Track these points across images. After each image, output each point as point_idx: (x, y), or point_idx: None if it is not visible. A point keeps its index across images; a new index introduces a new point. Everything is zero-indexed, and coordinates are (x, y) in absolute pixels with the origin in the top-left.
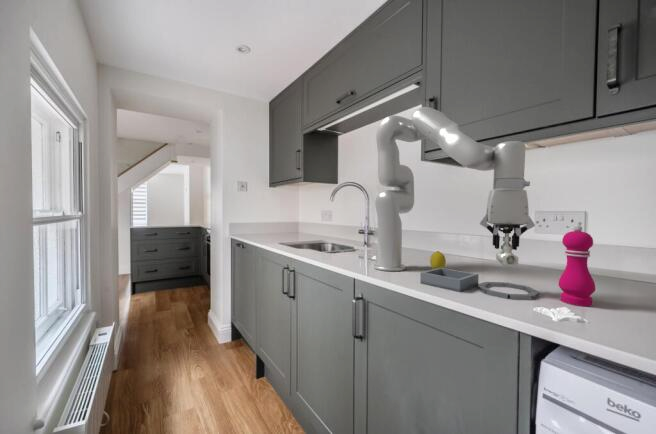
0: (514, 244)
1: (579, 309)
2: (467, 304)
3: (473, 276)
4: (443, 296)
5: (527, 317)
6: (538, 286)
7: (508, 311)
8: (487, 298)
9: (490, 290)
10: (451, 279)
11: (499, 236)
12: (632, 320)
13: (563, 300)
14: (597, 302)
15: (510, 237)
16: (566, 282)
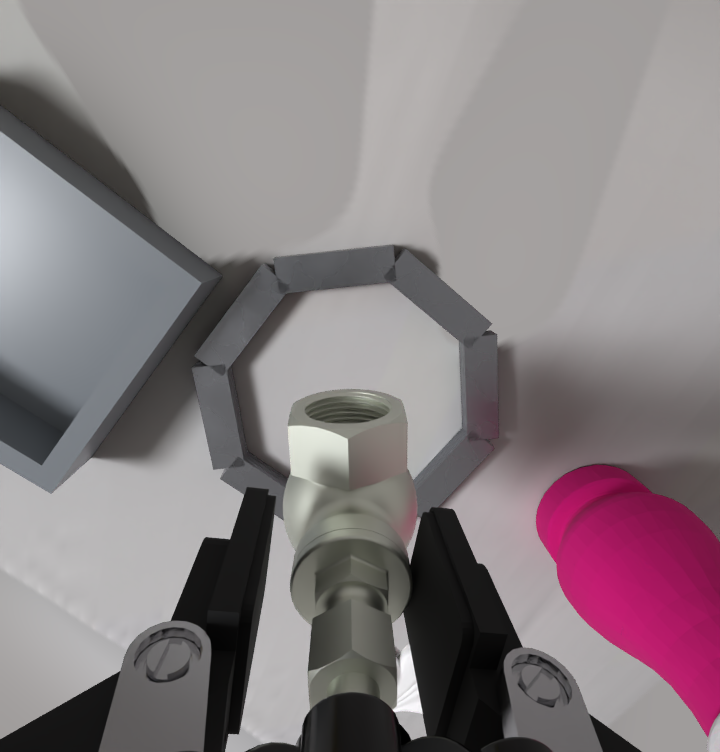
0: (415, 650)
1: (536, 595)
2: (110, 628)
3: (156, 347)
4: (6, 545)
5: (297, 707)
6: (602, 226)
7: (253, 668)
8: (214, 532)
9: (243, 468)
10: (2, 458)
11: (236, 728)
12: (631, 664)
13: (537, 527)
14: (687, 491)
15: (390, 706)
16: (578, 611)
